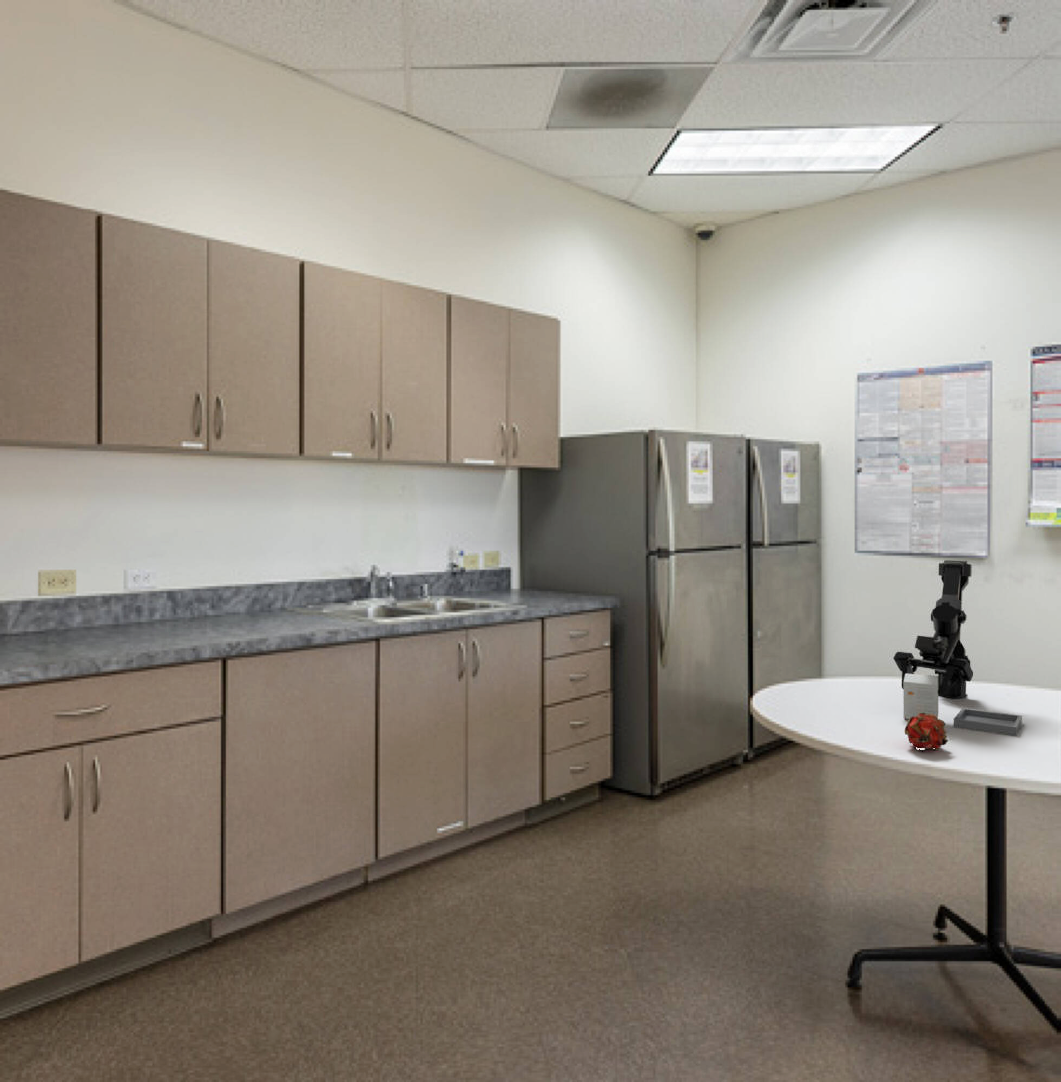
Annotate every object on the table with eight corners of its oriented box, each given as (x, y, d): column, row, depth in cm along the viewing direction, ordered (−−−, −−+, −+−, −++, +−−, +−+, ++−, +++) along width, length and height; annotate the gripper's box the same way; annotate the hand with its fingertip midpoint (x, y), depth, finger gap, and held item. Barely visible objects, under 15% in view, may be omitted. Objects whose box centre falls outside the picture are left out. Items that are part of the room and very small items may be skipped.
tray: (953, 726, 211) (953, 718, 211) (962, 715, 222) (962, 708, 222) (1016, 735, 204) (1016, 727, 203) (1022, 723, 215) (1022, 715, 215)
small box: (938, 713, 220) (939, 675, 217) (937, 723, 215) (938, 684, 213) (904, 709, 224) (904, 672, 221) (903, 719, 219) (903, 681, 216)
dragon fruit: (930, 748, 198) (927, 769, 188) (898, 724, 201) (893, 744, 190) (955, 723, 195) (953, 743, 184) (922, 698, 197) (918, 717, 187)
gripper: (897, 621, 228) (874, 666, 222) (968, 628, 213) (946, 676, 207) (912, 648, 233) (890, 693, 227) (982, 656, 218) (961, 704, 212)
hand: (920, 691), depth 218 cm, fingers closed on small box, 9 cm apart
